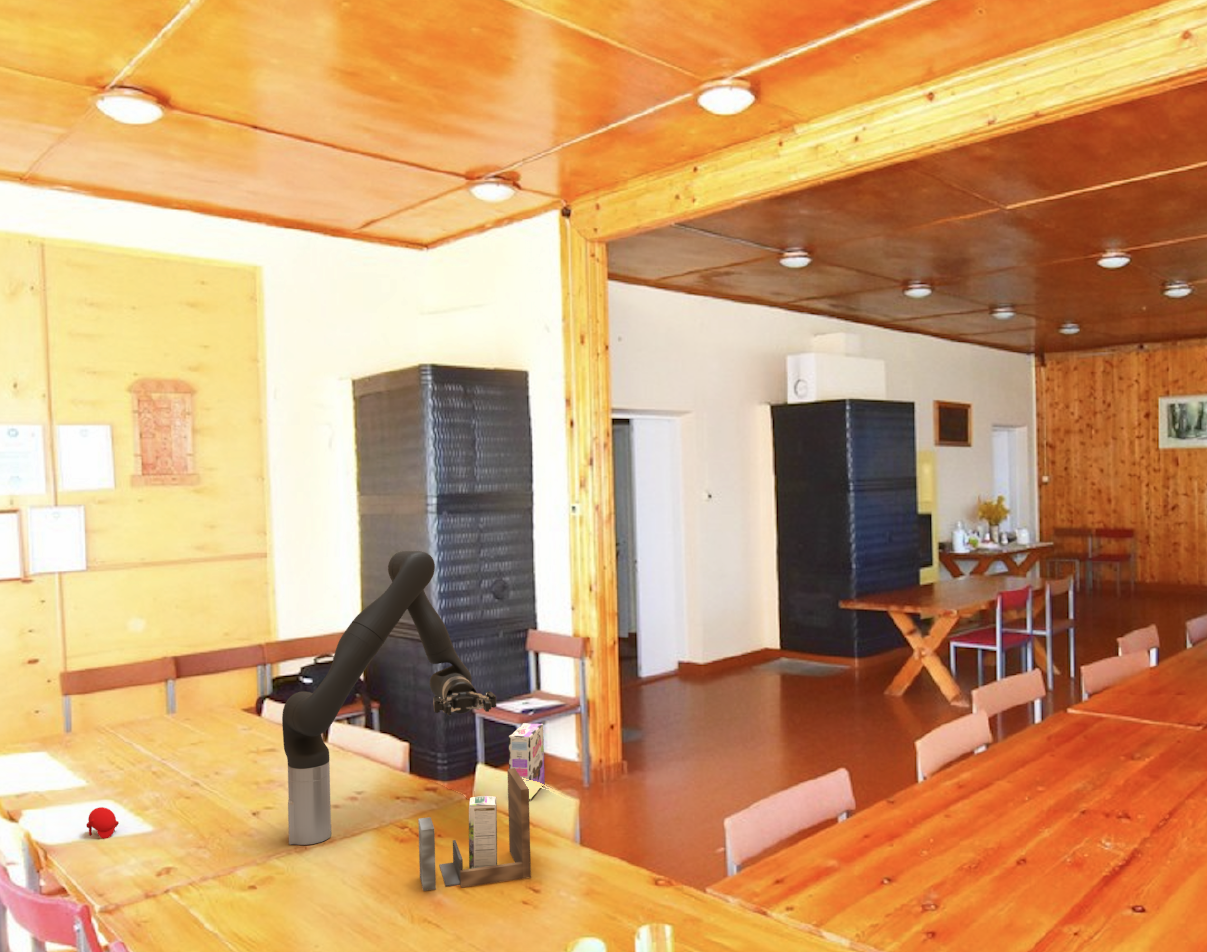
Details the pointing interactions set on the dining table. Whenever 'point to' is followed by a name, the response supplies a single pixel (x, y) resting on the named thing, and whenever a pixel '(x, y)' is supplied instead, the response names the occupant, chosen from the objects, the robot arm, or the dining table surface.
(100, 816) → the cap
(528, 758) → the candy box
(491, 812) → the syrup box
